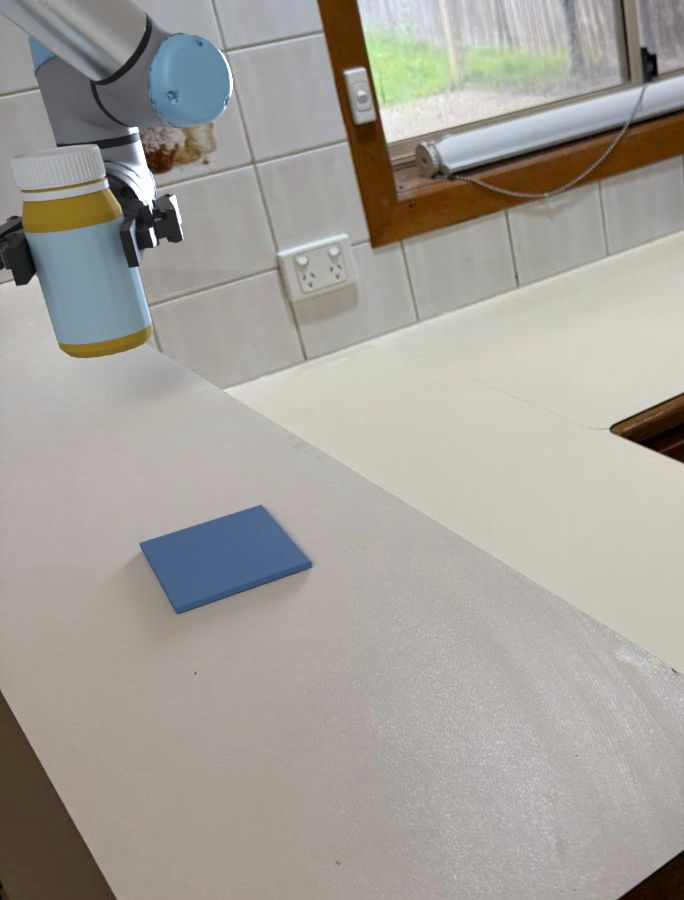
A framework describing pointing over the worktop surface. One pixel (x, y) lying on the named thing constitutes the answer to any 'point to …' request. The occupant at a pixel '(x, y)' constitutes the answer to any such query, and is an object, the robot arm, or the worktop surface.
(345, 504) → the worktop surface
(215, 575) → the blue mat
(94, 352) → the bottle
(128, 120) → the robot arm
